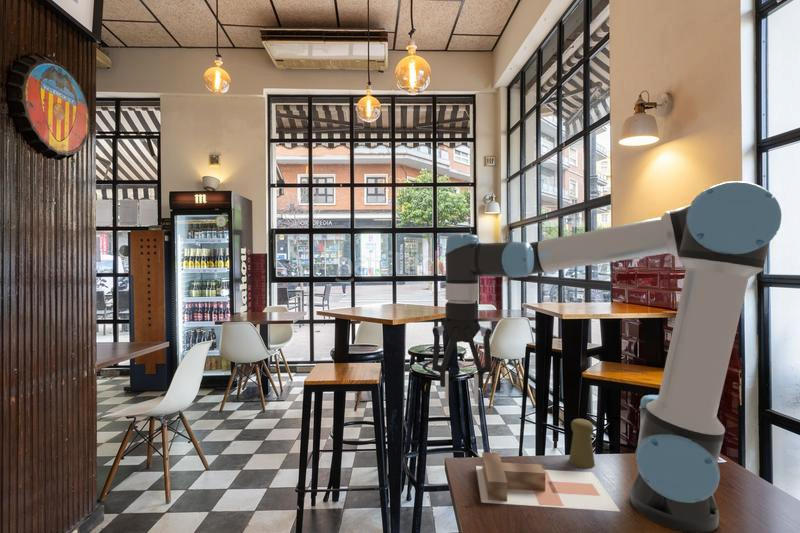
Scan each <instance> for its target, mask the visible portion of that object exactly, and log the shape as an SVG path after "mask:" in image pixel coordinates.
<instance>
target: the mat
mask: <svg viewBox="0 0 800 533" xmlns="http://www.w3.org/2000/svg"><path fill="white" fill-rule="evenodd" d="M475 467H476V468H475V469H476V475H477V482H478V490H479V496H480V502H481V503H483V504H484V503H485V504H498V505H502V504H503V505H515V506H529V507H530V506H531V507H547V508H562V509H574V510H575V509H576V510H590V511H605V512H618V513H619V512H621V510H620V509H619V507H618V506H617V504H616V503H615V502H614V500H613V499H612V498H611V496H610V494H609V493H608V492H607V490H606V489H605V487H604V486H603V485H602V483H601V482H600V480H599V478H597V476H596V475H595V474H594V472H593V471H592V472H590V471H576V470H575V471H574V470H571V471H570V470H557V469H556V470H555V469H554V470H553V469H544V471H545V491H534V490H517V489H507V501H495V500H488V497H487V491H486V485H485V480H484V474H483V469H482V465H475Z"/></svg>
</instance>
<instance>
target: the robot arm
mask: <svg viewBox="0 0 800 533" xmlns="http://www.w3.org/2000/svg"><path fill="white" fill-rule="evenodd" d="M781 224H782V209H781V205H780V203H779V202H778V199H776V197H775V196H774V195H773V194H772V193H771V192H770V191H769V190H768V189H766V188H765V187H763V186H761V185H758V184H755V183H753V182H748V181H738V180H737V181H725V182H722V183H719V184H716V185H713V186H710V187H708V188H706V189H705V190H702V191H701V192H700V193H699V194H698V195H696V196H695V198H694V199H693V200H692V201H691V203H690V204H689V205H686V206H683V207H680V208H677V209H671V210H667V211H665V213H664V214H662V216H661V217H657V218H651V219H646V220H641V221H635V222H632V223H626V224H621V225H616V226H610V227H605V228H600V229H595V230H589V231H586V232H585V231H584V232H580V233H575V234H569V235H566V236H564V235H563V236H559V237H553V238H550V239H543V240H539V241H533V242H526V241H523V242H522V241H521V242H520V241H509V242H488V243H486V242H485V243H484V242H480V240H479V236H478V235H476V234H466V233H465V234H451V235H449V236H448V237H447V238H446V240H445V241H446V243H445V244H446V245H445V253H444V256H445V300H446V301H447V302H445V311H444V312H445V321H444V323H443V324H442V325H440V326H437V325H436V326H433V328H432V334H433V337H434V342H433V355H432V367H431V368H432V371H436V372H438V373H439V385H440V388H444V403H445V404H446V403H447V404H449V371H448V370H447V368H448V364H449V361H450V359H451V355H452V353H453V349H454V347H455V345H456V343H468V345H469V349H470V352H471V354H472V357H473V361H474V364H475V367H476V371H474V372H473V374H474V375H473V377H474V378H473V401H474V404H476V405H477V404H479V389H483V387H484V375H485V374H486V373H491V372H492V358H491V343H490V342H491V341H490V339H491V335H492V332H493V331H492V329H491V328H490V327H485V326H482V325H481V324H480V323H479V304H478V301H479V277H497V278H498V277H499V278H514V279H515V278H526V277H527V278H528V277H529V276H531V275H534V274H542V273H547V272H553V271H561V270H566V269H572V268H580V267H586V266H592V265H593V266H594V265H600V264H605V263H612V262H620V261H626V260H632V259H639V258H646V257H651V256H657V255H658V256H659V255H665V254H666V255H667V254H670V255H672V256H673V257H675V258H676V257H678V258H677V259H678V261H679V262H680V263H681V264H682V265H683V267H684V268H685V272H684V278H683V283H682V287H681V292H680V295H679V301H678V305H677V311H676V314H675V315H676V316H675V319H674V322H673V323H674V324H673V329H672V333H671V338H670V342H669V347H668V351H667V356H666V360H665V365H664V370H663V374H662V379H661V383H660V388H659V393H658V394H648V395H644V396H642V398H641V399H640V405H639V410H640V420H639V421H640V423H639V424H640V426H639V434H638V440H637V447H636V449H635V454H634V458H635V462H636V467H637V473H636V475H635V477H634V480H633V482H632V485H631V487H630V503H631V505H632V507H634V509H635V510H636V511H637V512H639V513H640V514H641V515H642V516H643V517H644V518H647V519H648V520H650V521H652V522H654V523H657V524H659V525H661V526H664V527H666V528H669V529H671V530H676V531H680V532H684V533H685V532H686V533H710V532H713V531H715V530H717V529H718V527H719V521H720V519H719V518H720V517H719V515H720V512H719V510H718V506H717V504H716V500H715V497H714V494H715V492H716V491H717V489H718V486H719V484H720V483H719V482H720V481H721V474H720V473H721V470H720V467H719V464H718V463H719V459H720V454H721V449H722V445H723V441H724V436H725V432H726V428H725V426H724V425H723V424H722V423H721V421H720V419H719V418H718V416H717V415H718V410H719V406H720V402H721V397H722V394H723V390H724V386H725V382H726V381H725V380H726V377H727V372H728V368H729V365H730V364H729V363H730V359H731V355H732V350H733V347H734V342H735V337H736V334H737V329H738V326H739V321H740V317H741V314H742V313H741V312H742V308H743V305H744V304H743V303H744V299H745V295H746V291H747V288H748V283H749V280H750V279H751V277H754V276H755V275H757V274H759V273H761V272H763V271H764V268H765V262H766V260H767V255H768V251H769V246H770V242H771V241H772V240H773V239H774V237H776V235H777V233H778V231H779V230H780V228H781ZM476 301H477V302H476ZM444 331H445V333H446V334H447V335H448V337H449V340H448V344H447V347H446V349H445V352H444V356H443V359H442V361H441V364H439V356H440V355H439V353H440V343H441V342H440V339H441V336H442V335H443V332H444ZM479 332H480V335H481V336H482V337H483V339H482V340H483V355H484V366H482V363H481V360H480V357H479V353H478V351H477V348H476V344H475V341H474V338H475V337H476V335H478V333H479Z"/></svg>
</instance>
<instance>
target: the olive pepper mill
mask: <svg viewBox="0 0 800 533" xmlns="http://www.w3.org/2000/svg"><path fill="white" fill-rule="evenodd" d="M570 426H571V427H570V428H571V431H572V439H571V446H570V453H569V459H568V460H569V463H570V464H571V465H573V466H575V467H577V468H581V469H593V468H594V467H596V465H595V458H594V457H595V456H594V451H593V449H594V447H593V442H592V435H593V432H594V424H593V423H592V421H590V420H587V419H584V418H576V419H573V420H572V421H571V422H570Z"/></svg>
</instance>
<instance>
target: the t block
mask: <svg viewBox="0 0 800 533" xmlns="http://www.w3.org/2000/svg"><path fill="white" fill-rule="evenodd" d="M481 454H482V456H481V457H482V461H481V462H482V465H481V466H482V469H483V474H484V480H485V485H486V491H487V497H488V500H495V501H507V489H517V490H534V491H545V471H544V470H545V469H544V467H543V465H542V464H538V463H537V464H535V463H520V462H519V463H518V462H517V463H516V462H515V463H514V462H502V460H501V455H500V453H499V452H491V451H490V452H489V451H488V452H486V451H482V453H481Z"/></svg>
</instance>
